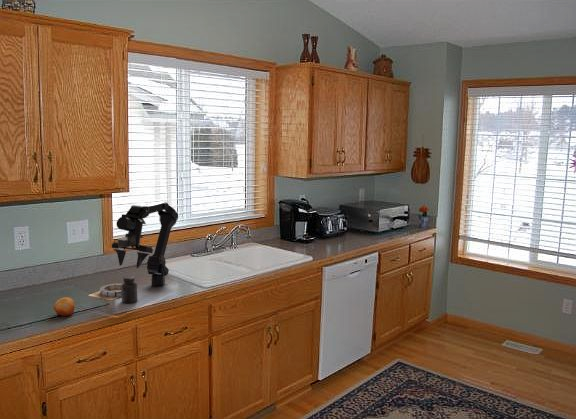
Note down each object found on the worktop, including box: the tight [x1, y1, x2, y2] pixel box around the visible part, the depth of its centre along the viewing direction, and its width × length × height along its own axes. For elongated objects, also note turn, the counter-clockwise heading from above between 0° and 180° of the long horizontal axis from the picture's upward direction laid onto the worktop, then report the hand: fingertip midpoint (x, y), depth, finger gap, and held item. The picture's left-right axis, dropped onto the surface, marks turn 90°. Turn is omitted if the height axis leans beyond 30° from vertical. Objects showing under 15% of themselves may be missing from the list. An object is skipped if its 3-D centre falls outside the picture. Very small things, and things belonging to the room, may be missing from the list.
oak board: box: [87, 288, 139, 301], centre depth 239 cm, size 18×14×1 cm
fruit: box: [52, 296, 76, 317], centre depth 211 cm, size 8×8×8 cm
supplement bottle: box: [121, 275, 139, 305], centre depth 227 cm, size 7×7×12 cm
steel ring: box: [99, 283, 123, 298], centre depth 238 cm, size 14×14×2 cm
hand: (128, 266), depth 230 cm, fingers open, 9 cm apart
